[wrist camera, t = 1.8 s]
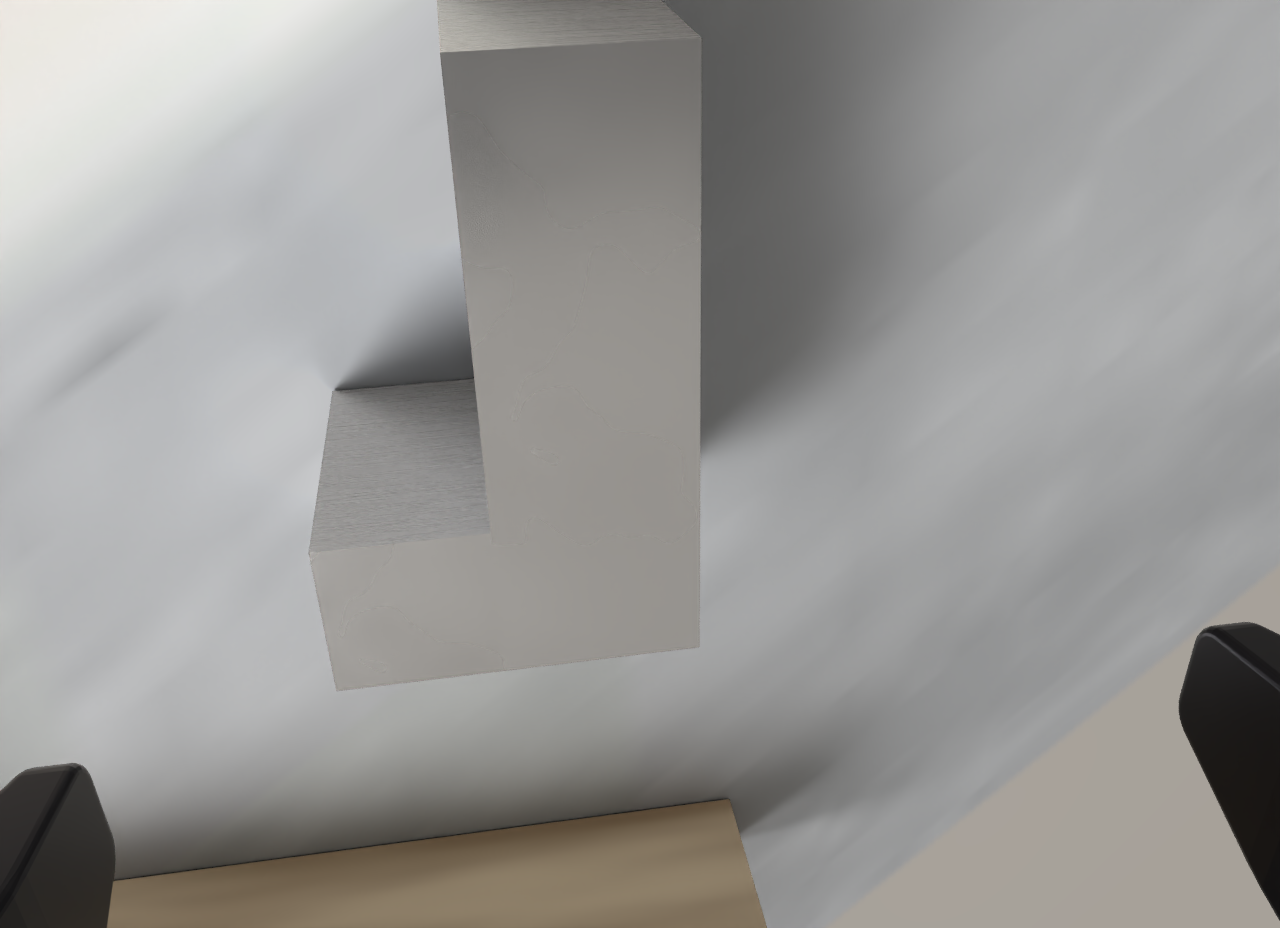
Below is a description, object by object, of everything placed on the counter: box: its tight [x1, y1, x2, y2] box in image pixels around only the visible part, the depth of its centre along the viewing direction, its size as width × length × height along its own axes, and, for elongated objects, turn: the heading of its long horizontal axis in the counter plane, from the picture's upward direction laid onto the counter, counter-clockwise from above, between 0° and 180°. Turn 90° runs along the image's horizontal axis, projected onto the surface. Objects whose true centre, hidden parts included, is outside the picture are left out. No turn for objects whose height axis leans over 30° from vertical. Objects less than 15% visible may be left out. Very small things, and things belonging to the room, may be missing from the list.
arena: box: [107, 799, 767, 928], centre depth 20 cm, size 20×23×4 cm
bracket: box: [309, 0, 702, 691], centre depth 18 cm, size 9×6×5 cm, turn 1°
